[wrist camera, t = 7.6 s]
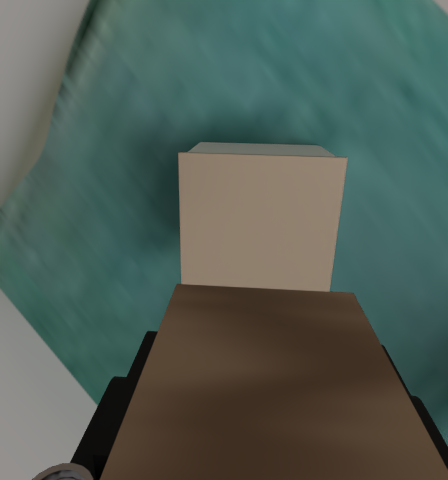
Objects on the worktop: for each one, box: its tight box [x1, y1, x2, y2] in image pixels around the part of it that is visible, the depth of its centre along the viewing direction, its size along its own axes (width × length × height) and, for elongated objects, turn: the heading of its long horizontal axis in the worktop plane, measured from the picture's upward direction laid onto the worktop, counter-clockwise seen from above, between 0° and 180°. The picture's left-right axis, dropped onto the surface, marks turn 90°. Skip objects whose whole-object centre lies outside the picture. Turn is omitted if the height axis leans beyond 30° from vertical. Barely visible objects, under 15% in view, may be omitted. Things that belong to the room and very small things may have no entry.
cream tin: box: [178, 142, 348, 292], centre depth 26 cm, size 9×9×8 cm
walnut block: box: [100, 284, 448, 480], centre depth 8 cm, size 5×5×7 cm
